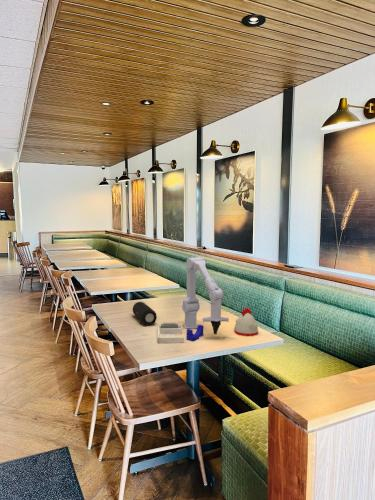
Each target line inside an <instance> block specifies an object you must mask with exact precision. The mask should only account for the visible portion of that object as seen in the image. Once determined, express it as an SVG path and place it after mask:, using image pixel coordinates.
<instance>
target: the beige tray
mask: <svg viewBox="0 0 375 500" xmlns="http://www.w3.org/2000/svg"><path fill="white" fill-rule="evenodd" d="M182 330H183V328H182V325H181V324H178V328H161V325H157V344H183V343H185V337H184V336H161V335H177V334H178V335H179V334H180V335H182V334H183V331H182Z"/></svg>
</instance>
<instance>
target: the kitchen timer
mask: <svg viewBox="0 0 375 500" xmlns="http://www.w3.org/2000/svg"><path fill="white" fill-rule="evenodd" d="M240 312H241V315H239V316H238V318H237V319H236V320H235V324H234V328H233V330H234V331H233V332H234V334H236V335H238V336H241V337H254V336H257V335H258V334H259V330H258V329H259V328H258V324H257V320H256V318H255V317H254V316H253V315H252V313H253V311H252V310H251V308H249V307H245V308H243V309H242V310H241V311H240Z"/></svg>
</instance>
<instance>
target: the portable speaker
mask: <svg viewBox="0 0 375 500" xmlns="http://www.w3.org/2000/svg"><path fill="white" fill-rule="evenodd" d="M132 313H133V314H134V315H135V316H136V317H137V318H138V319H139V320H140V321H141V322H142V323H143V324H144V325H145V326H150V325H151V326H152V325H153V324H154V323H156V321H157V317H158V316H157V313H156V311H155V310H154V309H152V308H151V307H150V306H149V305H147V304H146V303H145V302H143V301H137V302H135V303H134V305H133V306H132Z"/></svg>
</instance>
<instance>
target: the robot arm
mask: <svg viewBox="0 0 375 500" xmlns="http://www.w3.org/2000/svg"><path fill="white" fill-rule="evenodd" d="M185 262H186V263H185V267H186V268H185V269H186V297H184V299H183V300H182V305H181V309H182V311H183V313H184V322H183V323H182V324H183V326H184V329H197V328H198V325H197V315H198V314H197V313H198V311H199V310H200V307H201V306H200V302H199V301H200V300H199V299H198V298H197V296H196V285H197V283H196V282H197V280H196V279H197V278H196V277H197V276H196V275H197V274H196V272H197V271H198V272H199V273H200V275H201V276H202V278H203V280H204V285H205V287H206V289H207V290H208V292H209V293H208V297H209V302H210V316H208V317H202V322H203V323H205V322H208V323H210V324H211V327H212V330H213V334H214V336H215V335H218V331H219V328H220V326H221V324H222V322H226V323H227V322H228V323H229V317H225V316H224V317H223V316H222V299H223V298H224V296H225V294H224V291H223V289H222V288H221V287H219V286H218V284H217V283H216V281H215V280H214V278H213V277H211V275H210V274H209V270H208V269H207V266H206V260H205V258H204V257H203V256H197V257H188V258H187V260H186V261H185Z"/></svg>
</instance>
